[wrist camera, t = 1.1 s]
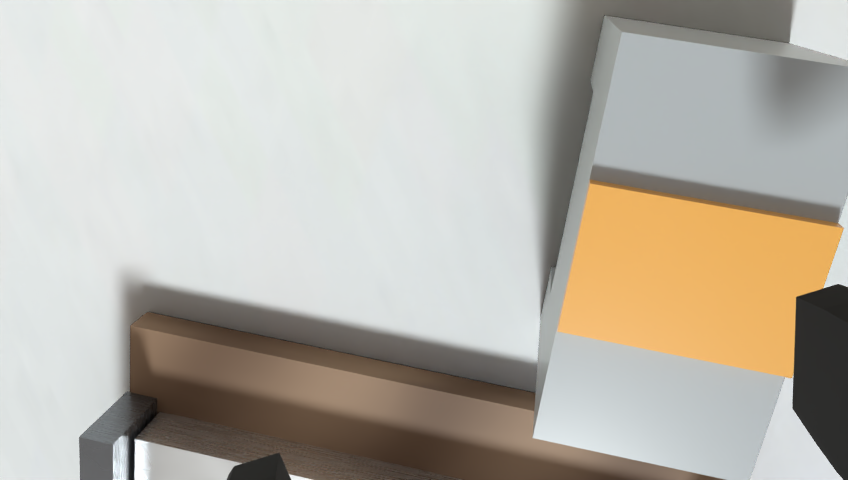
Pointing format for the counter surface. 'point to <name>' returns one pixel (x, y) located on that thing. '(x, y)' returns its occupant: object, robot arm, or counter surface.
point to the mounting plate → (358, 406)
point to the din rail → (208, 450)
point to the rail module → (690, 244)
